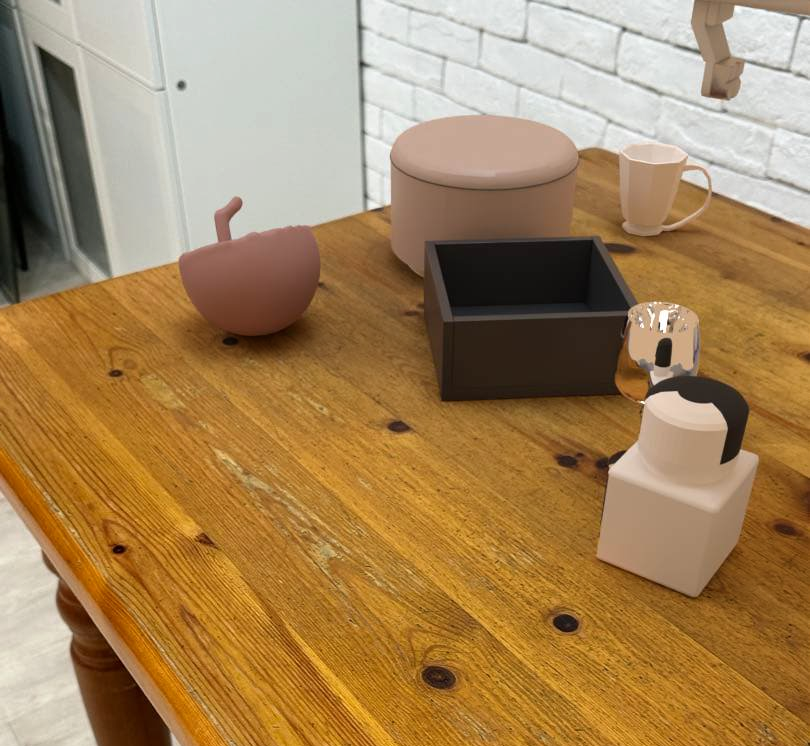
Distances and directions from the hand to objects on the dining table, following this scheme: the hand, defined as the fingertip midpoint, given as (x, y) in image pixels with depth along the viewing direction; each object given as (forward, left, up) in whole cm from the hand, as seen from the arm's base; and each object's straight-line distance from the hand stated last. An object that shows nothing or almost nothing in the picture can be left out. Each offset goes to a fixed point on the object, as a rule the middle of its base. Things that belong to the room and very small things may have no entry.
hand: (807, 113), depth 53 cm
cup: (-11, -53, -28) cm, 60 cm away
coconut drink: (+31, -33, -28) cm, 53 cm away
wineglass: (+3, -9, -28) cm, 29 cm away
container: (+9, -47, -28) cm, 55 cm away
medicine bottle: (+3, +1, -28) cm, 28 cm away
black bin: (+8, -27, -27) cm, 39 cm away
